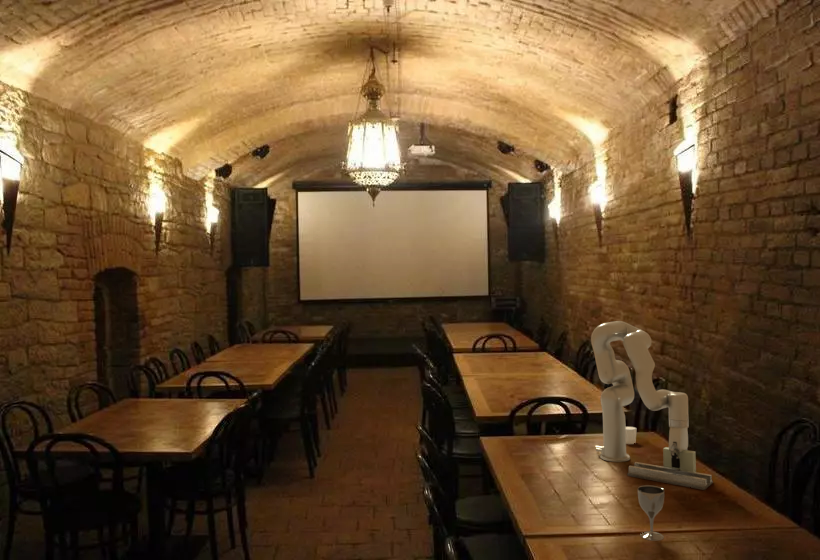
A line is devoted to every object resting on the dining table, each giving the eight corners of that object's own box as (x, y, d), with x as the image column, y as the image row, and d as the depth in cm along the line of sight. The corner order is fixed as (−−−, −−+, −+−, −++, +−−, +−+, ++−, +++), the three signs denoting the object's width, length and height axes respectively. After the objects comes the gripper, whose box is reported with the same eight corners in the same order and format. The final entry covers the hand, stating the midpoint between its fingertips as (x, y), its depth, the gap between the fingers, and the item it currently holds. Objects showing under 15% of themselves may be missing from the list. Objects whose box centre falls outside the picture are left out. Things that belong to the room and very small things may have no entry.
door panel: (663, 470, 283) (663, 448, 282) (666, 468, 285) (665, 447, 285) (693, 475, 275) (693, 453, 275) (695, 473, 277) (695, 451, 277)
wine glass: (634, 532, 221) (633, 486, 220) (658, 530, 221) (657, 484, 221) (645, 542, 213) (644, 494, 212) (669, 540, 213) (668, 492, 213)
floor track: (627, 475, 277) (627, 467, 277) (637, 469, 284) (637, 461, 284) (704, 490, 257) (704, 480, 257) (712, 483, 265) (712, 474, 265)
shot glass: (635, 440, 329) (634, 426, 328) (638, 444, 322) (638, 429, 322) (620, 440, 329) (620, 426, 329) (623, 444, 322) (623, 429, 322)
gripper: (676, 417, 288) (677, 458, 289) (661, 426, 275) (662, 468, 276) (695, 419, 284) (696, 461, 284) (680, 428, 270) (681, 471, 271)
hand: (679, 464), depth 280 cm, fingers open, 8 cm apart
